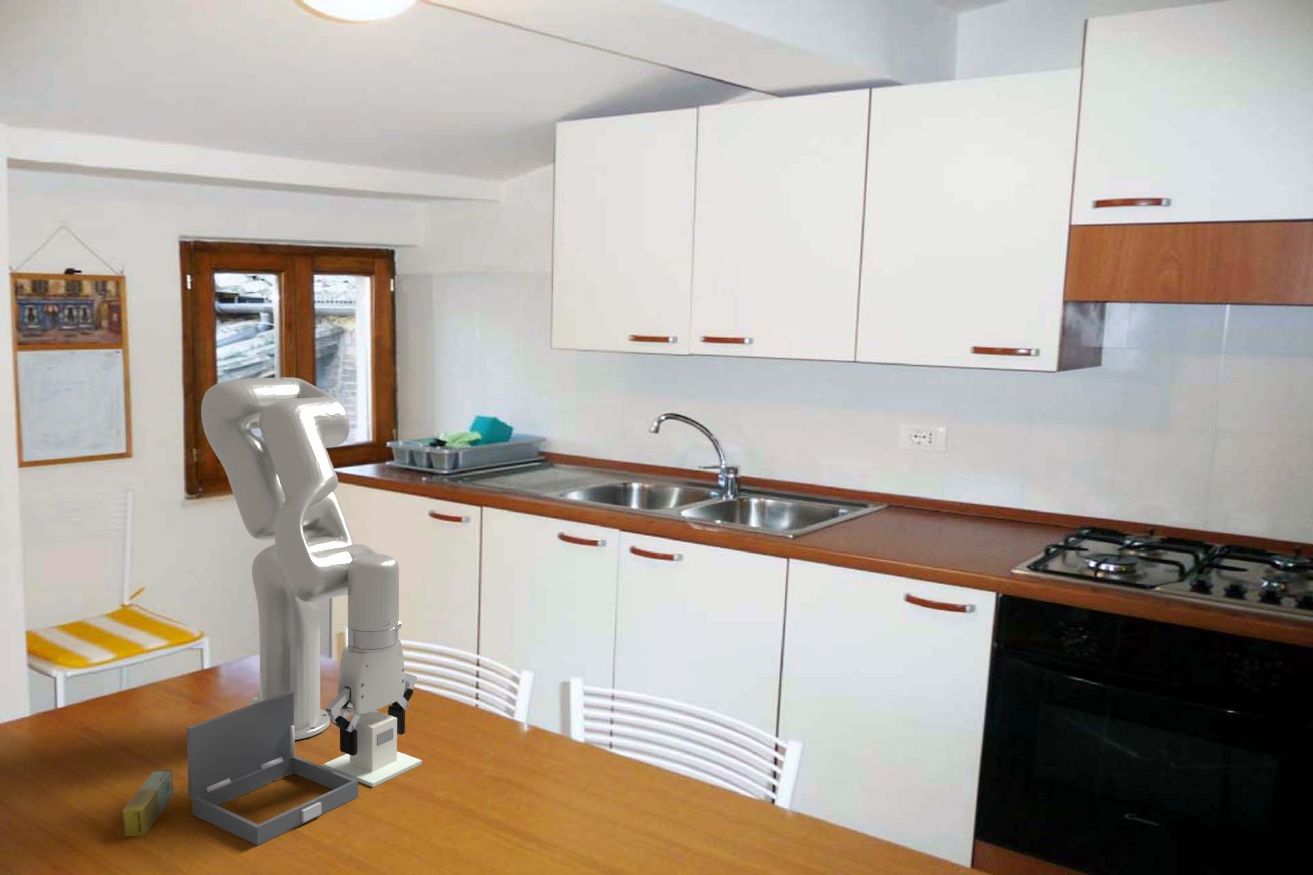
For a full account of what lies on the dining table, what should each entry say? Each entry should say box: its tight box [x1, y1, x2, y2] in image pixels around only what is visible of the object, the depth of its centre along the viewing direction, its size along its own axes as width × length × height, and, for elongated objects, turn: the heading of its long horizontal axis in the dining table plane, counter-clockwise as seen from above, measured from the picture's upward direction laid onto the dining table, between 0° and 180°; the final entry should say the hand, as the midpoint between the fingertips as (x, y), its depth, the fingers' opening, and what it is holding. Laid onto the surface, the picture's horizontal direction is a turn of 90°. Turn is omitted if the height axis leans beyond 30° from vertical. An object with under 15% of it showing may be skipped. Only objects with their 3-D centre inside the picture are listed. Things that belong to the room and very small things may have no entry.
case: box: [186, 691, 359, 846], centre depth 150 cm, size 16×17×12 cm
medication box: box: [122, 769, 174, 837], centre depth 147 cm, size 12×3×4 cm, turn 7°
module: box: [350, 710, 398, 772], centre depth 164 cm, size 5×5×7 cm
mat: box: [322, 750, 423, 788], centre depth 165 cm, size 11×10×1 cm
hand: (373, 742), depth 164 cm, fingers open, 9 cm apart
